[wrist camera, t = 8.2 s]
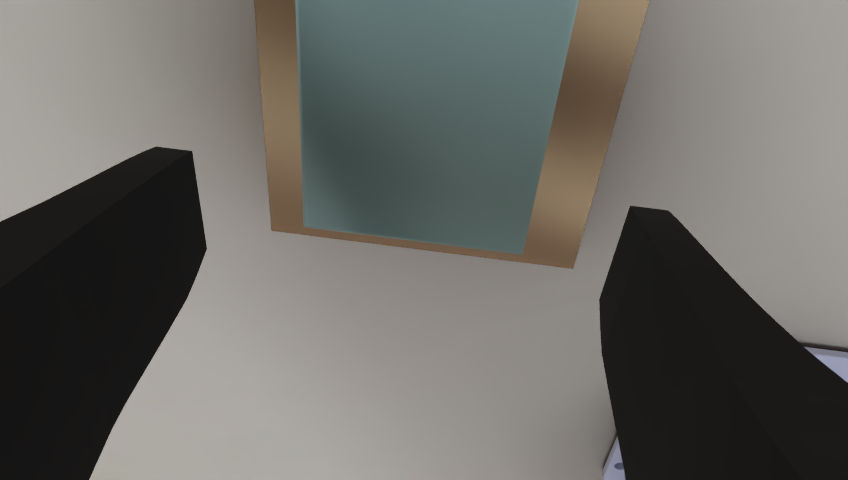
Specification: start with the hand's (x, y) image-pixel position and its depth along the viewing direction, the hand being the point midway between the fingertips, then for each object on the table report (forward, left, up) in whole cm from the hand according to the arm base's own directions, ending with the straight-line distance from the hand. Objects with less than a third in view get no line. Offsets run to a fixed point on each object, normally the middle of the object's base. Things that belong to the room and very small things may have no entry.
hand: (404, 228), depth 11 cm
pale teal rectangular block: (0, 0, -8) cm, 8 cm away
